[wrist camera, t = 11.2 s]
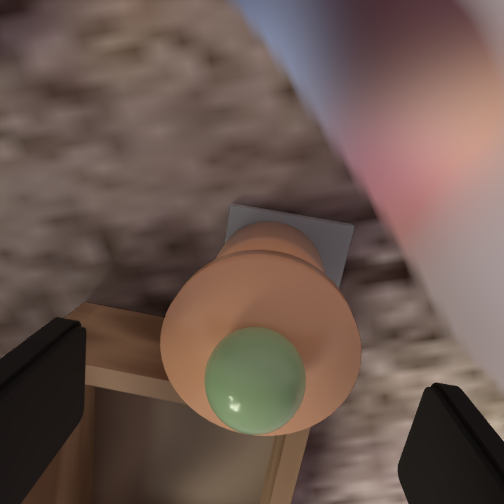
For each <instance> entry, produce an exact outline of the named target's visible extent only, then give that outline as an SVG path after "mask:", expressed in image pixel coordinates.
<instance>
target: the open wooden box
mask: <svg viewBox="0 0 504 504" xmlns="http://www.w3.org/2000/svg"><path fill="white" fill-rule="evenodd" d="M65 318H66V319H72V320H77V321H79V322H80V323H81V327H85V328H86V333H87V335H86V368H85V402H84V412H83V416H82V418H81V420H80V422H79V424H78V425H77V427H76V428H75V429H74V431H73V432H72V434H71V435H70V436H69V438H68V439H67V440H66V442H65V443H64V445H63V446H62V447H61V449H60V450H59V452H58V453H57V454H56V456H55V457H54V459H53V460H52V461H51V463H50V464H49V465H48V467H47V468H46V470H45V471H44V472H43V474H42V475H41V477H40V478H39V479H38V481H37V482H36V483H35V485H34V486H33V488H32V489H31V490H30V492H29V493H28V495H27V496H26V497H25V499H24V500H23V502H22V503H21V504H291V500H292V497H293V493H294V489H295V485H296V481H297V478H298V474H299V470H300V466H301V462H302V458H303V455H304V451H305V447H306V443H307V439H308V435H309V432H310V428H311V427H309V428H306V429H304V430H301V431H297V432H294V433H290V434H284V435H276V436H256V435H249V434H242V433H239V432H235V431H231V430H228V429H226V428H223V427H220V426H218V425H216V424H214V423H212V422H210V421H208V420H207V419H205V418H204V417H202V416H201V415H199V414H198V413H197V412H195V411H194V410H193V409H192V408H191V407H189V405H188V404H187V403H186V402H185V401H184V400H183V399H182V398H181V397H180V396H179V394H178V393H177V392H176V390H175V389H174V387H173V386H172V384H171V382H170V381H169V378H168V376H167V374H166V371H165V369H164V365H163V362H162V357H161V350H160V336H161V330H162V324H163V321H164V318H165V317H161V316H155V315H150V314H145V313H140V312H134V311H129V310H124V309H118V308H113V307H108V306H102V305H97V304H92V303H87V302H84V303H83V304H81V305H80V306H79V307H78V308H76V309H75V310H74V311H72V312H71V313H70V314H69V315H67V316H66V317H65Z"/></svg>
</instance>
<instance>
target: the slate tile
mask: <svg viewBox="0 0 504 504" xmlns="http://www.w3.org/2000/svg"><path fill="white" fill-rule="evenodd" d="M265 221H272V222H280V223H284V224H287V225H290V226H292V227H294V228H296V229H298V230H300V231H301V232H302V233H304V234H305V235H306V236H307V237H308V238H309V239H310V240H311V241H312V242H313V243H314V245H315V246H316V248H317V250H318V252H319V254H320V256H321V259H322V262H323V266H324V269H325V272H326V275H327V276H328V277H329V278H330V279H331V280H332V281H333V282H334V283H335V284H336V286H337V287H338V288H339V286H340V282H341V278H342V274H343V270H344V266H345V262H346V258H347V255H348V251H349V247H350V243H351V239H352V235H353V231H354V227H355V226H354V225H353V224H351V223H345V222H339V221H333V220H328V219H322V218H316V217H310V216H304V215H299V214H293V213H287V212H281V211H276V210H270V209H264V208H258V207H253V206H247V205H241V204H235V203H231V204H230V209H229V216H228V223H227V231H226V238H225V243H226V241H227V240H228V239H229V238H230V237H231V236H232V235H233V234H234V233H235V232H237V231H238V230H240V229H241V228H243V227H245V226H248V225H250V224H254V223H257V222H265Z"/></svg>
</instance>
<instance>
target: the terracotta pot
mask: <svg viewBox="0 0 504 504" xmlns="http://www.w3.org/2000/svg"><path fill="white" fill-rule="evenodd" d="M160 350H161V357H162V362H163V365H164V369H165V371H166V374H167V376H168V378H169V381H170V382H171V384H172V386H173V387H174V389H175V390H176V392H177V393H178V394H179V396H180V397H181V398H182V399H183V400H184V401H185V402H186V403H187V404H188V405H189V407H191V408H192V409H193V410H194V411H195V412H197V413H198V414H199V415H201V416H202V417H204V418H205V419H207V420H208V421H210V422H212V423H214V424H216V425H218V426H220V427H223V428H226V429H228V430H231V431H235V432H239V433H242V434H249V435H256V436H276V435H284V434H290V433H294V432H297V431H301V430H304V429H306V428H309V427H311V426H313V425H315V424H317V423H319V422H320V421H322V420H324V419H325V418H327V417H328V416H329V415H331V414H332V413H333V412H334V411H335V410H336V409H337V408H338V407H339V406H340V405H341V404H342V403H343V402H344V401H345V399H346V398H347V397H348V395H349V394H350V392H351V390H352V388H353V387H354V385H355V382H356V379H357V377H358V374H359V370H360V365H361V353H362V350H361V339H360V335H359V331H358V327H357V325H356V322H355V320H354V317H353V315H352V312H351V310H350V307H349V305H348V303H347V300H346V299H345V297H344V295H343V294H342V292H341V291H340V289H339V288H338V287H337V286H336V284H335V283H334V282H333V281H332V280H331V279H330V278H329V277H328V276H327V275H326V272H325V269H324V266H323V262H322V259H321V256H320V254H319V252H318V250H317V248H316V246H315V245H314V243H313V242H312V241H311V240H310V239H309V238H308V237H307V236H306V235H305V234H304V233H302V232H301V231H300V230H298V229H296V228H294V227H292V226H290V225H287V224H284V223H280V222H272V221H265V222H257V223H254V224H250V225H248V226H245V227H243V228H241V229H240V230H238V231H237V232H235V233H234V234H233V235H232V236H231V237H230V238H229V239H228V240H227V241H226V243H225V244H224V245H223V247H222V248H221V250H220V252H219V253H218V255H217V256H216V258H215V260H213V261H211V262H210V263H208V264H206V265H204V266H203V267H202V268H201V269H199V270H198V271H197V272H196V273H194V275H193V276H192V277H191V278H190V279H189V280H188V281H187V282H186V283H185V285H184V286H183V288H182V289H181V290H180V292H179V293H178V294H177V296H176V297H175V299H174V300H173V302H172V303H171V305H170V307H169V309H168V311H167V313H166V315H165V318H164V321H163V324H162V330H161V336H160Z"/></svg>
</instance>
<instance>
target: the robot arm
mask: <svg viewBox="0 0 504 504" xmlns="http://www.w3.org/2000/svg"><path fill="white" fill-rule="evenodd" d="M86 335H87V333H86V328H85V327H81V323H80V322H79V321H77V320H72V319H66V318H60V317H57V318H55V319H53V320H52V321H50V322H49V323H48V324H46V325H45V326H44V327H42V328H41V329H40V330H38V331H37V332H36V333H34V334H33V335H32V336H30V337H29V338H28V339H27V340H25V341H24V342H23V343H21V344H20V345H19V346H17V347H16V348H15V349H13V350H12V351H11V352H9V353H8V354H7V355H5V356H4V357H3V358H1V359H0V504H21V503H22V502H23V500H24V499H25V497H26V496H27V495H28V493H29V492H30V490H31V489H32V488H33V486H34V485H35V483H36V482H37V481H38V479H39V478H40V477H41V475H42V474H43V472H44V471H45V470H46V468H47V467H48V465H49V464H50V463H51V461H52V460H53V459H54V457H55V456H56V454H57V453H58V452H59V450H60V449H61V447H62V446H63V445H64V443H65V442H66V440H67V439H68V438H69V436H70V435H71V434H72V432H73V431H74V429H75V428H76V427H77V425H78V424H79V422H80V420H81V418H82V416H83V412H84V402H85V368H86ZM398 477H399V480H400V483H401V485H402V488H403V491H404V493H405V496H406V498H407V501H408V503H409V504H504V441H503V440H502V439H501V438H500V436H499V435H498V434H497V433H496V432H495V430H494V429H493V428H492V427H491V425H490V424H489V423H488V422H487V420H486V419H485V418H484V417H483V415H482V414H481V413H480V412H479V410H478V409H477V408H476V407H475V406H474V404H473V403H472V402H471V401H470V399H469V398H468V397H467V396H466V394H465V393H464V392H463V391H462V389H460V388H459V387H458V386H453V385H447V384H442V383H433V384H432V385H431V387H427V388H426V389H425V390H424V392H423V395H422V398H421V401H420V404H419V407H418V409H417V412H416V415H415V418H414V421H413V424H412V426H411V429H410V432H409V435H408V438H407V441H406V443H405V446H404V449H403V452H402V455H401V458H400V461H399V464H398Z"/></svg>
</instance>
